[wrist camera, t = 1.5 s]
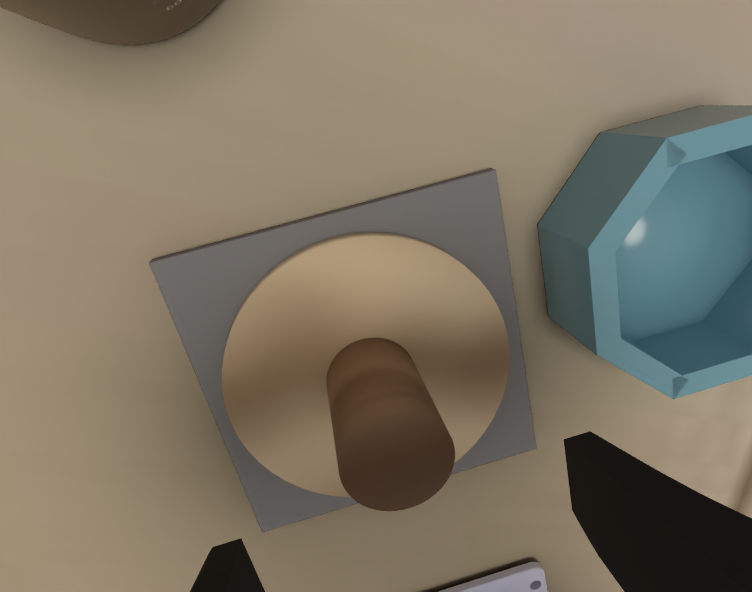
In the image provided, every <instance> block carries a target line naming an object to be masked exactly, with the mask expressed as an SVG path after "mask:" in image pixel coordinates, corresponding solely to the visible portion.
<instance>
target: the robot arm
mask: <svg viewBox="0 0 752 592" xmlns="http://www.w3.org/2000/svg"><path fill="white" fill-rule="evenodd" d="M564 445H565V453H566V462H567V470H568V479H569V487H570V495H571V504H572V511H573V512H574V514H575V516H576V518H577V519H578V521H579V523H580V525H581V527H582V528H583V530H584V532H585V534H586V535H587V537H588V539H589V541H590V542H591V544H592V546H593V547H594V549H595V551H596V552H597V554H598V556H599V557H600V558H601V560H602V561H603V563H604V564H605V565H606V567H607V568H608V569H609V571H610V572H611V574H612V575H613V576H614V578H615V579H616V580H617V582H618V583H619V585H620V586H621V587H622V589H623V590H624V591H625V592H752V518H749V517H747V516H745V515H743V514H741V513H739V512H737V511H735V510H733V509H731V508H728V507H726V506H724V505H722V504H720V503H718V502H716V501H714V500H712V499H710V498H708V497H706V496H704V495H702V494H700V493H698V492H696V491H694V490H692V489H691V488H689V487H687V486H685V485H683V484H681V483H679V482H678V481H676V480H674V479H672V478H670V477H668V476H667V475H665V474H663V473H661V472H659V471H658V470H656V469H654V468H652V467H650V466H649V465H647V464H645V463H644V462H642V461H640V460H638V459H637V458H635V457H633V456H631V455H630V454H628V453H626V452H625V451H623V450H621V449H619V448H618V447H616V446H614V445H613V444H611V443H609V442H607V441H606V440H604V439H602V438H601V437H599V436H597V435H595V434H594V433H592V432H587V433H583V434H580V435H577V436H574V437H570V438H567V439H564ZM190 592H265V591H264V588H263V586H262V584H261V582H260V580H259V577H258V575H257V573H256V571H255V568H254V566H253V564H252V562H251V559H250V557H249V555H248V553H247V550H246V548H245V546H244V544H243V541H242V539H238V540H235V541H231V542H228V543H225V544H222V545H218V546H215V547H213V548H212V549H211V551H210V553H209V554H208V556H207V558H206V560H205V562H204V564H203V566H202V568H201V571H200V573H199V575H198V577H197V579H196V581H195V583H194V585H193V587H192V589H191V591H190ZM438 592H548V591H547V585H546V578H545V573H544V570H543V568H542V567H541V565H540V564H539V563H538V562H529V563H525V564H522V565H519V566H516V567H513V568H510V569H507V570H504V571H501V572H497V573H494V574H491V575H488V576H485V577H482V578H479V579H476V580H472V581H469V582H466V583H463V584H460V585H457V586H454V587H451V588H448V589H444V590H441V591H438Z"/></svg>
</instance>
